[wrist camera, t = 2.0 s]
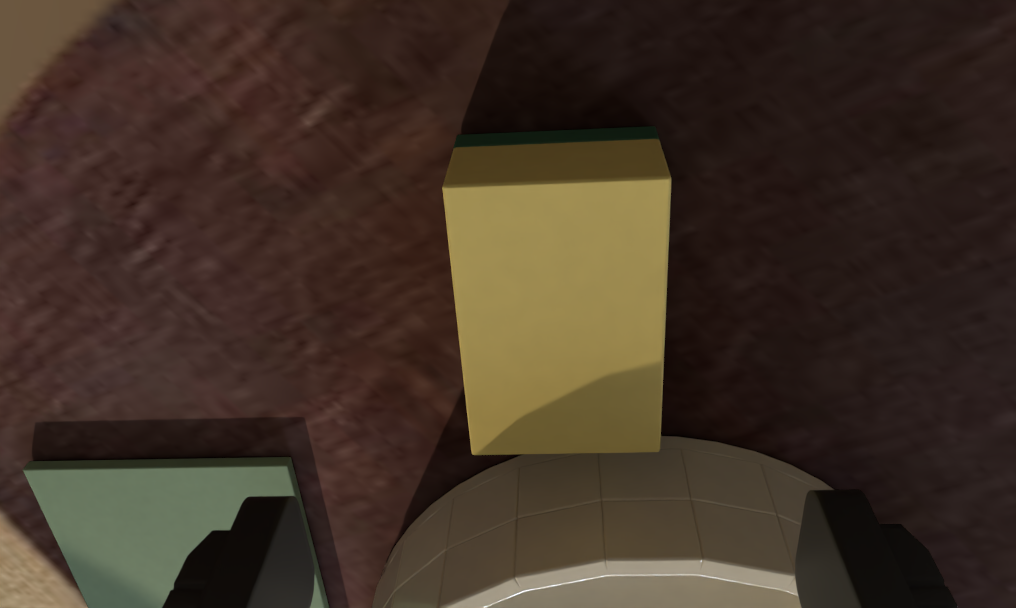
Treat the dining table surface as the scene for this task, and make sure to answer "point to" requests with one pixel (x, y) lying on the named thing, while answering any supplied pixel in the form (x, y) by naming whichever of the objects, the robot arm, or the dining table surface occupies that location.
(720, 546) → the wash bowl
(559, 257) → the sponge
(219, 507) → the mat
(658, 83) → the dining table surface
